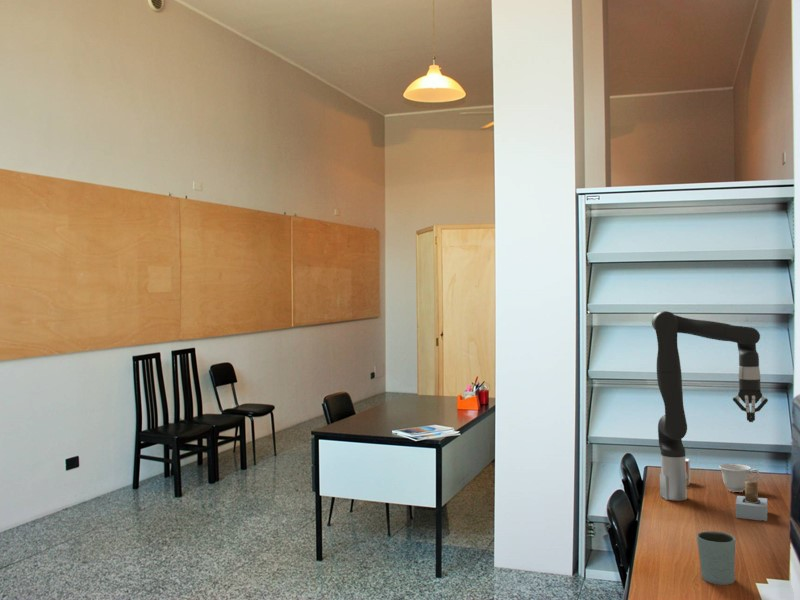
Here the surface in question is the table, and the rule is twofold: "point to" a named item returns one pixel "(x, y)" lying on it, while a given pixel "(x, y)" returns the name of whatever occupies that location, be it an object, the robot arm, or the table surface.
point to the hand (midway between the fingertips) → (750, 421)
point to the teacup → (736, 476)
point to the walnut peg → (751, 492)
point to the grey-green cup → (717, 557)
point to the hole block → (751, 509)
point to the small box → (687, 471)
